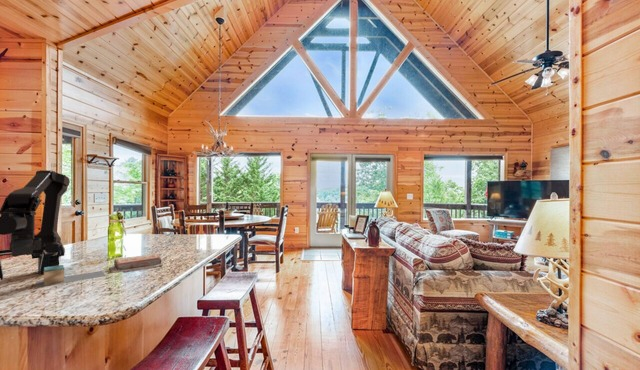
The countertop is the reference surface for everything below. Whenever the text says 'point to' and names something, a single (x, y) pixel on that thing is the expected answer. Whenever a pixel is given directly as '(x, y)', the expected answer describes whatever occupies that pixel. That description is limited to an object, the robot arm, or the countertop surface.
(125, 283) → the countertop surface
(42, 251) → the robot arm
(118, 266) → the reddish brown brick
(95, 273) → the mat
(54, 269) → the block
